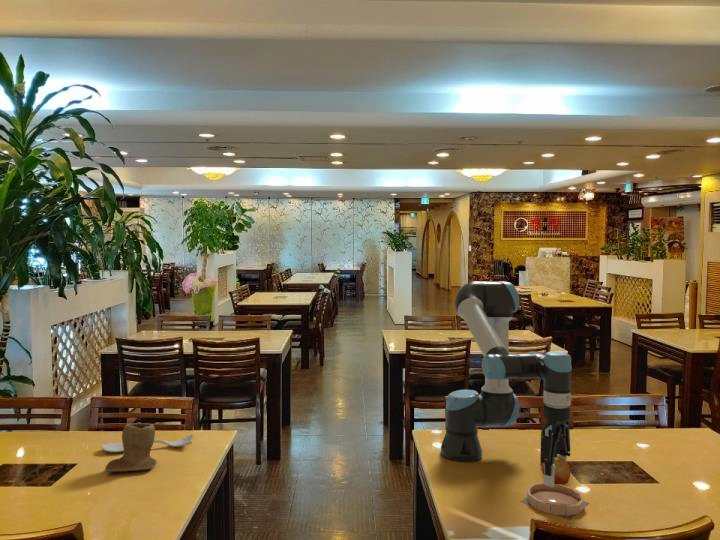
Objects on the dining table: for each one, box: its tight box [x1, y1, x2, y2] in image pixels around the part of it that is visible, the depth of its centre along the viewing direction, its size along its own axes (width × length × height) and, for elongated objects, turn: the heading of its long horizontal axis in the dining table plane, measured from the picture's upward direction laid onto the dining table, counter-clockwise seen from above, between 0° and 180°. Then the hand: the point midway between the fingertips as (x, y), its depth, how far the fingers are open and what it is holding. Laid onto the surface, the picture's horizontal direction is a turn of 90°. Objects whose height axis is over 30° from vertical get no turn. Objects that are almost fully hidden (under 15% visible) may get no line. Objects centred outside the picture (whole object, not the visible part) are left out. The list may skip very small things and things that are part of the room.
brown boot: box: [104, 422, 157, 473], centre depth 178 cm, size 15×12×15 cm
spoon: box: [101, 434, 194, 453], centre depth 196 cm, size 9×32×4 cm, turn 104°
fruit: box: [540, 457, 571, 486], centre depth 155 cm, size 8×8×8 cm
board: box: [520, 496, 590, 520], centre depth 155 cm, size 15×14×1 cm
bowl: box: [526, 481, 585, 516], centre depth 155 cm, size 16×16×2 cm
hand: (555, 481), depth 154 cm, fingers closed on fruit, 8 cm apart
